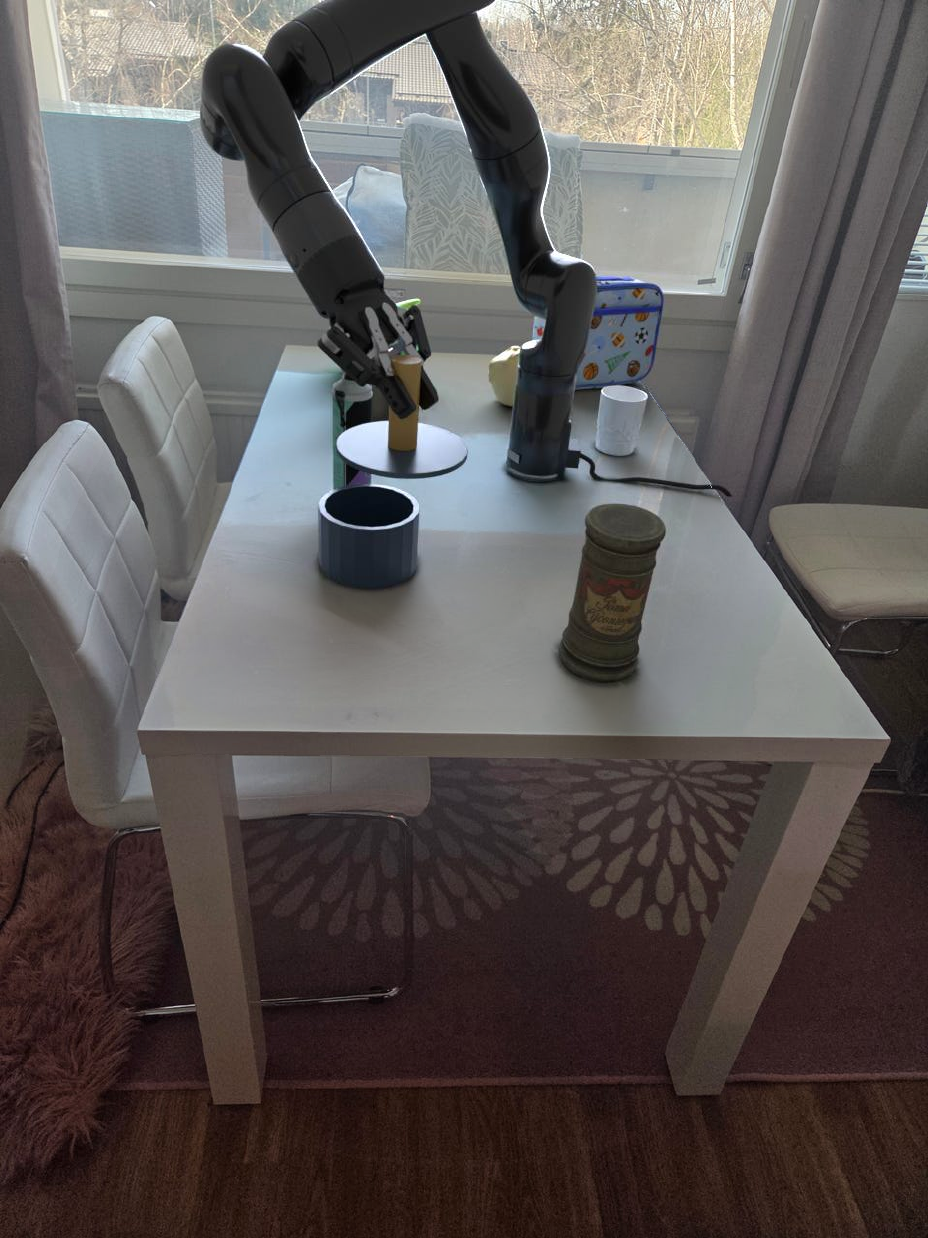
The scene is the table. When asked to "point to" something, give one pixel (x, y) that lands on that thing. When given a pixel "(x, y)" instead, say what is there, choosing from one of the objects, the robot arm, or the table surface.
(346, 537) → the tin
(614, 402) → the white cup
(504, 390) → the sculpture
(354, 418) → the spray can
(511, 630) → the table surface
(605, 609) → the container
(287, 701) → the table surface
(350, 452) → the lid
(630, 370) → the lunch box
